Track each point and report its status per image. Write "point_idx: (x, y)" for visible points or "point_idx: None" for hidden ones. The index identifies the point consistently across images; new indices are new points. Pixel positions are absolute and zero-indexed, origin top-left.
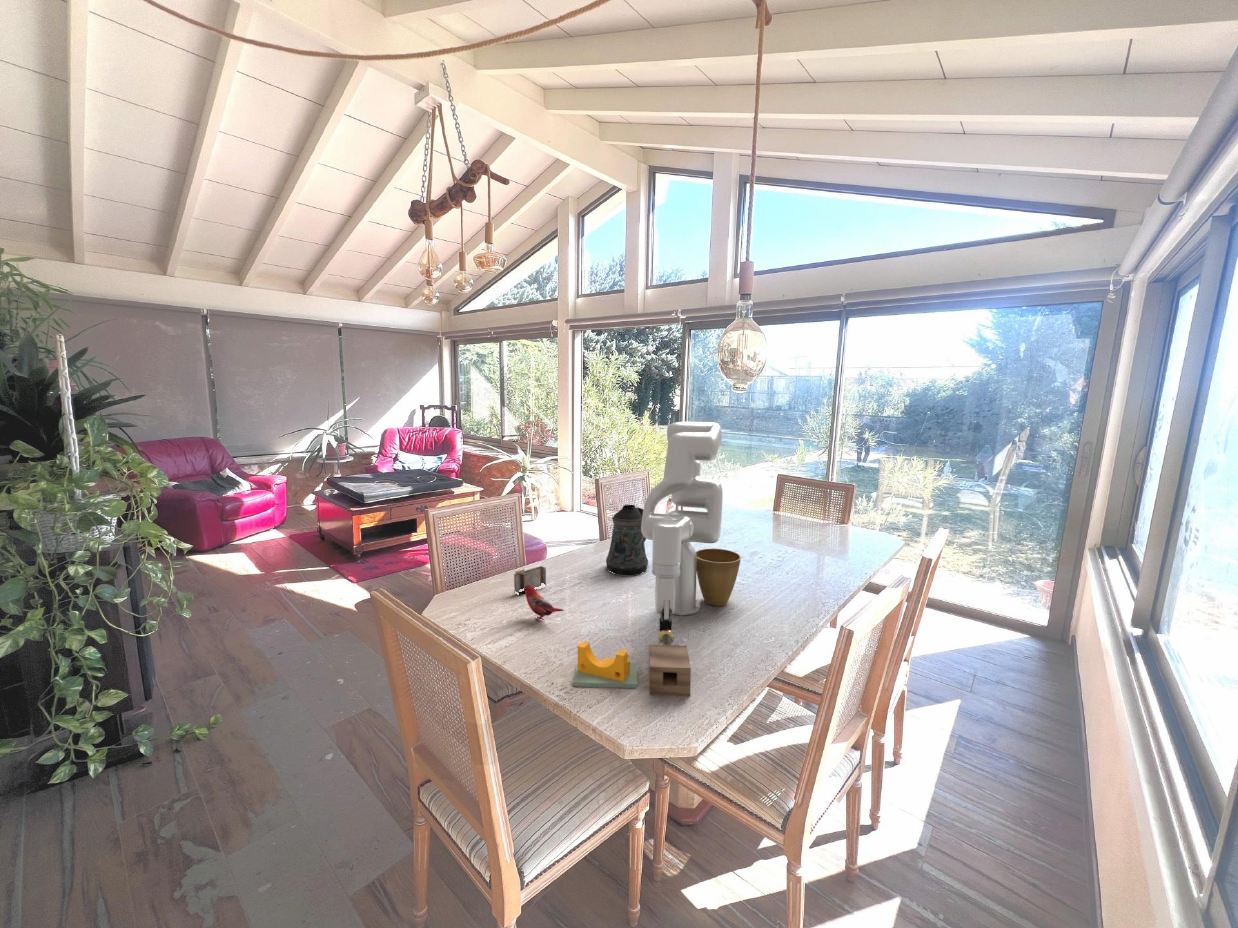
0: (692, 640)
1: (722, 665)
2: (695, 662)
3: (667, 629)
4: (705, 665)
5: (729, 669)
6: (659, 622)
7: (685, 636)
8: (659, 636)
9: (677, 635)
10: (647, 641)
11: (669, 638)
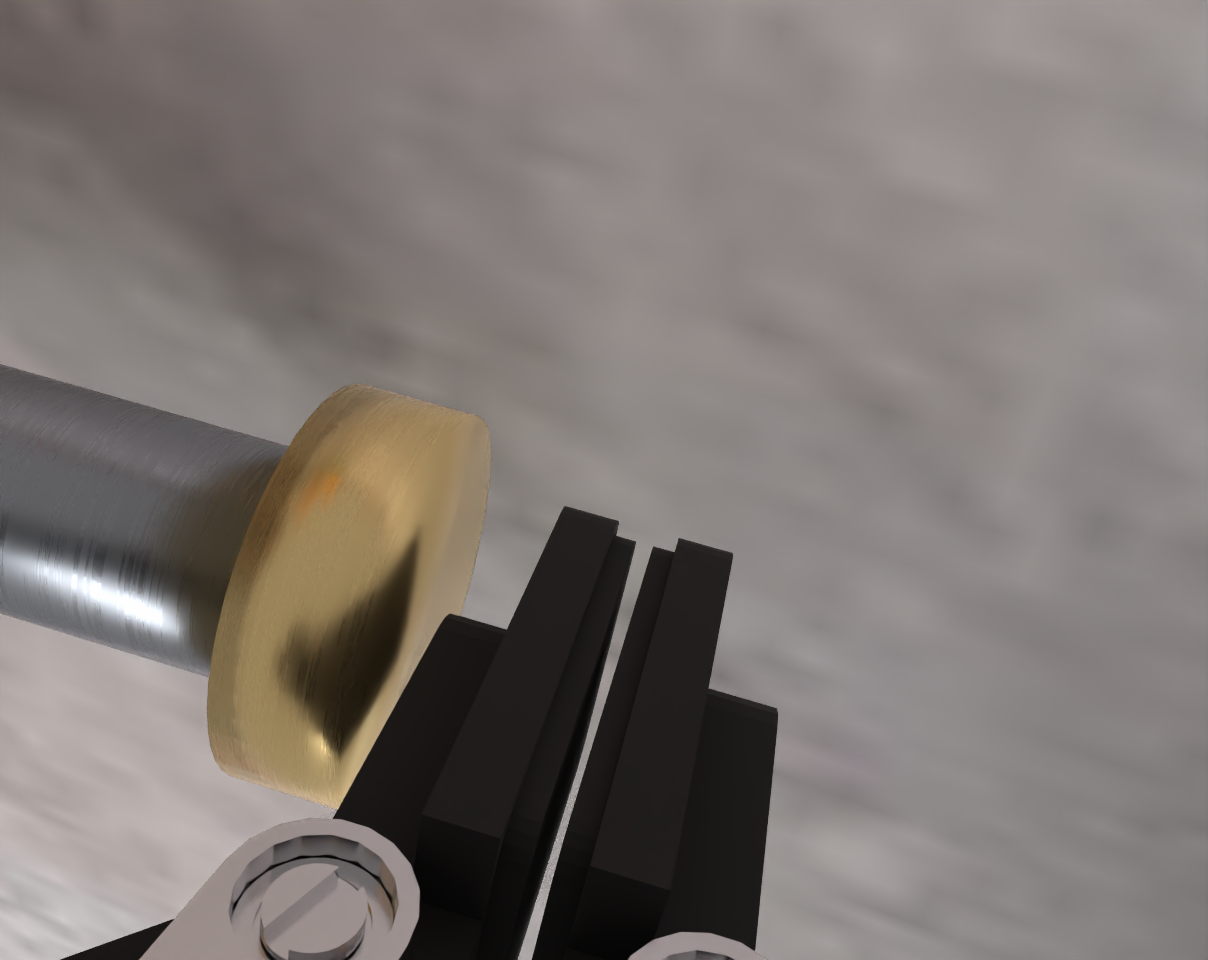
0: (791, 929)
1: (101, 937)
2: (142, 711)
3: (316, 767)
4: (79, 786)
5: (27, 954)
6: (661, 737)
7: (964, 901)
8: (293, 444)
9: (1053, 810)
10: (1014, 143)
11: (85, 636)
